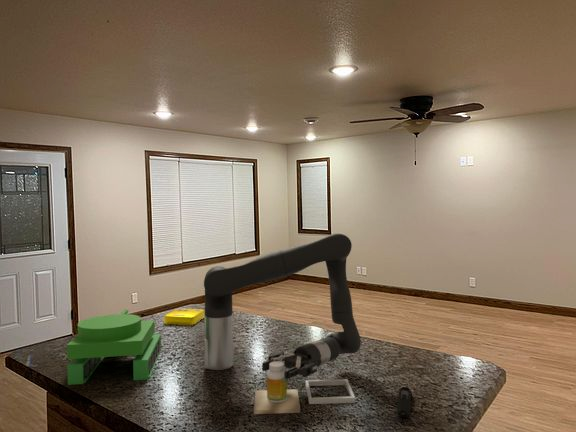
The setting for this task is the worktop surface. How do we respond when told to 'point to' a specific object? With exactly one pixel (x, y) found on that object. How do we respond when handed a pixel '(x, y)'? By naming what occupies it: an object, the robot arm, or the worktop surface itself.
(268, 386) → the supplement bottle
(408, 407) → the electric trimmer
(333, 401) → the square frame
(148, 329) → the tank
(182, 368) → the worktop surface
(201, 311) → the element tile
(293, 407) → the pad
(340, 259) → the robot arm
